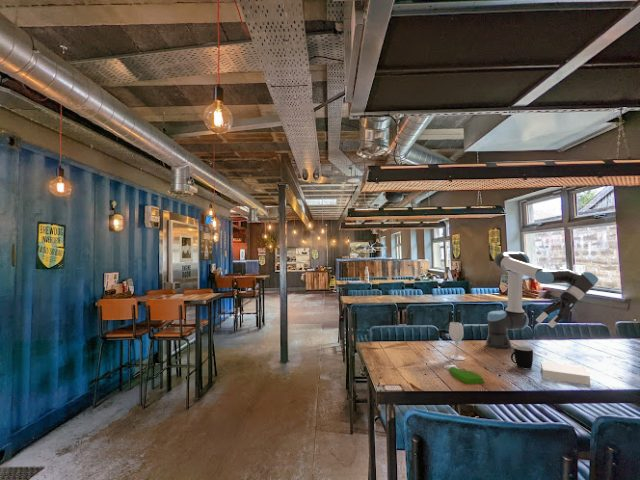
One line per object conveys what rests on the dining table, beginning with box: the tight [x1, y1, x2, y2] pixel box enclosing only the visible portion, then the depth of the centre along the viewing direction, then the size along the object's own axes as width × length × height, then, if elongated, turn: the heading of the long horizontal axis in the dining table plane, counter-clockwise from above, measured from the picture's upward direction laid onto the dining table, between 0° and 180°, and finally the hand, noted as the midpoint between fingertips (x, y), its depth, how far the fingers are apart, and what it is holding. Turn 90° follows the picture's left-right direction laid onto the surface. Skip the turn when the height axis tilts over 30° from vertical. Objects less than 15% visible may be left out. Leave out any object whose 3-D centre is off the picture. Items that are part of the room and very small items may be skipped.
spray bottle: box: [443, 364, 485, 385], centre depth 164 cm, size 3×11×24 cm
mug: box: [510, 345, 534, 370], centre depth 174 cm, size 12×9×10 cm
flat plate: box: [540, 360, 591, 386], centre depth 159 cm, size 18×16×4 cm
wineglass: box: [448, 321, 466, 361], centre depth 192 cm, size 9×9×21 cm
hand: (543, 323), depth 173 cm, fingers open, 13 cm apart
